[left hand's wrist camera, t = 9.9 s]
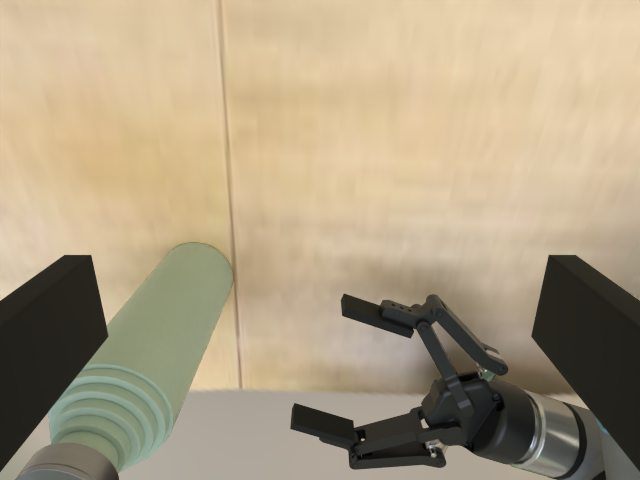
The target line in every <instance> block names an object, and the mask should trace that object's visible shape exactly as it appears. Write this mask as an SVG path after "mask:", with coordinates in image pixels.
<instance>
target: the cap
mask: <svg viewBox="0 0 640 480" xmlns="http://www.w3.org/2000/svg"><path fill="white" fill-rule="evenodd" d="M15 480H119V476H118V473H117V471H116V468H115V467H114V465H113V464H112V463H111V462H110V460H108V459H107V458H106V457H105V456H104V455H102V454H101V453H99V452H98V451H96V450H94V449H92V448H90V447H87V446H84V445H80V444H75V443H55V444H51V445H48V446H46V447H44V448H42V449H40V450H39V451H37V452H36V453H35V454H34V455H33V457H32V458H31V459H30V461H29V462H28V463H27V465H26V466H25V467H24V469H23V470H22V471H21V473H20V474H19V475H18V477H17V478H16V479H15Z"/></svg>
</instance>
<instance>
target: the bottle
mask: <svg viewBox="0 0 640 480" xmlns="http://www.w3.org/2000/svg"><path fill="white" fill-rule="evenodd" d="M232 284H233V272H232V268H231V266H230V264H229V262H228V260H227V259H226V258H225V256H224V255H223V254H222V253H221V252H219V251H218V250H217V249H215V248H213V247H211V246H209V245H206V244H202V243H185V244H182V245H179V246H177V247H175V248H174V249H172V250H171V251H170V252H169V253H168V254H167V255H166V257H165V258H164V259H163V260H162V261H161V262H160V264H159V265H158V266H157V267H156V268H155V269H154V271H153V272H152V273H151V274H150V275H149V277H148V278H147V279H146V280H145V281H144V282H143V284H142V285H141V286H140V287H139V288H138V289H137V291H136V292H135V293H134V294H133V295H132V296H131V298H130V299H129V300H128V301H127V302H126V303H125V305H124V306H123V307H122V308H121V309H120V311H119V312H118V313H117V314H116V315H115V316H114V318H113V319H112V320H111V321H110V322H109V323H108V325H107V331H108V336H109V337H108V338H107V339H106V341H105V342H104V343H103V344H102V346H101V347H100V348H99V349H98V351H97V352H96V353H95V354H94V355H93V357H92V358H91V359H90V360H89V362H88V363H87V364H86V365H85V367H84V368H83V369H82V370H81V372H80V373H79V374H78V375H77V377H76V378H75V379H74V380H73V382H72V383H71V384H70V385H69V387H68V388H67V389H66V390H65V392H64V393H63V394H62V395H61V397H60V398H59V399H58V400H57V402H56V403H55V404H54V405H53V407H52V408H51V409H50V410H49V412H48V416H49V427H50V439H51V444H55V443H75V444H80V445H84V446H87V447H90V448H92V449H94V450H96V451H98V452H99V453H101V454H102V455H104V456H105V457H106V458H107V459H108V460H110V462H111V463H112V464H113V465H114V467H115V468H116V471H117V473H119V472H121V471H123V470H125V469H127V468H129V467H130V466H133V465H135V464H137V463H138V462H140V461H142V460H144V459H146V458H148V457H149V456H151V455H152V454H153V453H155V452H156V451H157V450H158V448H159V447H160V446H161V445H162V444H163V443H164V442H165V441H166V440H167V438H168V437H169V435H170V433H171V431H172V429H173V426H174V424H175V421H176V419H177V417H178V414H179V412H180V410H181V407H182V405H183V402H184V400H185V398H186V395H187V393H188V390H189V388H190V386H191V383H192V381H193V379H194V376H195V374H196V371H197V369H198V367H199V364H200V362H201V359H202V357H203V355H204V352H205V350H206V348H207V345H208V343H209V340H210V338H211V336H212V333H213V331H214V328H215V326H216V324H217V321H218V319H219V317H220V314H221V312H222V309H223V307H224V305H225V302H226V300H227V297H228V295H229V293H230V290H231V288H232Z"/></svg>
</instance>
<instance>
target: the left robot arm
mask: <svg viewBox="0 0 640 480" xmlns="http://www.w3.org/2000/svg"><path fill="white" fill-rule="evenodd" d="M108 337H109V336H108V331H107V326H106V322H105V317H104V313H103V308H102V303H101V299H100V294H99V289H98V285H97V280H96V275H95V271H94V266H93V261H92V257H91V255H64V256H63V257H61V258H60V259H58V260H57V261H56V262H54V263H53V264H51V265H50V266H49V267H47V268H46V269H44V270H43V271H42V272H40V273H39V274H37V275H36V276H35V277H33V278H32V279H30V280H29V281H28V282H26V283H25V284H23V285H22V286H21V287H19V288H18V289H16V290H15V291H14V292H12V293H11V294H9V295H8V296H7V297H5V298H4V299H2V300H1V301H0V472H1V470H2V469H3V468H4V467H5V465H6V464H7V463H8V462H9V460H10V459H11V458H12V457H13V455H14V454H15V453H16V452H17V450H18V449H19V448H20V447H21V445H22V444H23V443H24V442H25V440H26V439H27V438H28V437H29V435H30V434H31V433H32V432H33V430H34V429H35V428H36V427H37V425H38V424H39V423H40V422H41V420H42V419H43V418H44V417H45V415H46V414H47V413H48V412H49V410H50V409H51V408H52V407H53V405H54V404H55V403H56V402H57V400H58V399H59V398H60V397H61V395H62V394H63V393H64V392H65V390H66V389H67V388H68V387H69V385H70V384H71V383H72V382H73V380H74V379H75V378H76V377H77V375H78V374H79V373H80V372H81V370H82V369H83V368H84V367H85V365H86V364H87V363H88V362H89V360H90V359H91V358H92V357H93V355H94V354H95V353H96V352H97V351H98V349H99V348H100V347H101V346H102V344H103V343H104V342H105V341H106V339H107V338H108ZM531 337H532V338H533V339H534V340H535V342H536V343H537V344H538V345H539V347H540V348H541V349H542V350H543V352H544V353H545V354H546V355H547V357H548V358H549V359H550V360H551V362H552V363H553V364H554V365H555V367H556V368H557V369H558V370H559V372H560V373H561V374H562V375H563V377H564V378H565V379H566V380H567V382H568V383H569V384H570V385H571V387H572V388H573V389H574V390H575V392H576V393H577V394H578V395H579V397H580V398H581V399H582V400H583V402H584V403H585V404H586V405H587V407H588V408H589V409H590V410H591V412H592V413H593V414H594V415H595V417H596V418H597V419H598V420H599V422H600V423H601V424H602V425H603V427H604V428H605V429H606V430H607V432H608V433H609V434H610V435H611V437H612V438H613V439H614V440H615V442H616V443H617V444H618V445H619V447H620V448H621V449H622V450H623V452H624V453H625V454H626V455H627V457H628V458H629V459H630V460H631V462H632V463H633V464H634V465H635V467H636V468H637V469H638V470H639V472H640V301H639V300H638V299H636V298H635V297H633V296H632V295H631V294H629V293H628V292H626V291H625V290H624V289H622V288H621V287H619V286H618V285H617V284H615V283H614V282H612V281H611V280H610V279H608V278H607V277H605V276H604V275H603V274H601V273H600V272H598V271H597V270H596V269H594V268H593V267H591V266H590V265H589V264H587V263H586V262H584V261H583V260H582V259H580V258H579V257H577V256H576V255H549V257H548V262H547V266H546V271H545V275H544V280H543V285H542V289H541V294H540V299H539V303H538V308H537V313H536V317H535V322H534V327H533V331H532V336H531Z"/></svg>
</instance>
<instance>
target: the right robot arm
mask: <svg viewBox="0 0 640 480" xmlns="http://www.w3.org/2000/svg"><path fill="white" fill-rule="evenodd" d="M341 307H342V316H344V317H347V318H350V319H353V320H356V321H359V322H362V323H366V324H369V325H372V326H375V327H378V328H381V329H384V330H387V331H390V332H393V333H396V334H399V335H402V336H405V337H408V338H411V337H412V335H413V333H414V330H413V328H414V329H417V331H418V333H419V335H420V337H421V339H422V340H423V342H424V344H425V346H426V348H427V349H428V351H429V353H430V355H431V357H432V358H433V360H434V362H435V364H436V366H437V367H438V369H439V371H440V373H441V375H442V377H443V378H441V379H440V380H438V381H436V380H435V381H434V382H433V384H432V386H431V390H430V393H429V394H428V395H427V396H426V397H425V398H424V399H423V401H422V403H421V404H422V406H420V407H417V408H413V409H411V411H410V413H408V414H404V415H401V416H397V417H393V418H389V419H386V420H382V421H378V422H375V423H371V424H367V425H363V426H360V427H356V428H354V425H353V420H349V419H346V418H342V417H339V416H336V415H332V414H329V413H326V412H322V411H319V410H316V409H312V408H309V407H306V406H302V405H299V404H296V403H295V404H294V406H293V408H292V417H291V429H293V430H296V431H300V432H303V433H307V434H310V435H313V436H317V437H319V440H321V441H322V442H324V443H327V444H330V445H334V446H337V447H341V448H344V449H347V450H348V452H349V466H350V468H352V469H369V468H383V467H397V466H411V465H427V466H432V467H438V468H442V467H444V466H445V465H446V460H445V457H444V454H445V452H446V450H447V448H448V446H453V445H460V446H463V447H465V448H466V449H468V450H469V451H471V452H472V453H474V454H475V455H477V456H480V457H483V458H486V459H490V460H493V461H497V462H500V463H503V464H510V465H511V466H512V467H516V468H519V469H523V470H526V471H530V472H533V473H536V474H540V475H544V476H547V477H550V478H553V479H557V480H640V472H639V470H638V469H637V468H636V467H635V465H634V464H633V463H632V462H631V460H630V459H629V458H628V457H627V455H626V454H625V453H624V452H623V450H622V449H621V448H620V447H619V445H618V444H617V443H616V442H615V440H614V439H613V438H612V437H611V435H610V434H609V433H608V432H607V430H606V429H605V428H604V427H603V425H602V424H601V423H600V422H599V420H598V419H597V418H596V417H595V415H594V414H593V413H592V412H591V410H588V409H585V408H581V407H578V406H575V405H572V404H568V403H565V402H561V401H558V400H555V399H552V398H549V397H546V396H543V395H540V394H537V393H534V392H531V391H527V390H524V389H521V388H519V387H517V386H514V385H511V384H508V383H505V382H502V381H498V380H495V379H493V378H494V376H495V375H496V374H497V375H504V374H506V373H507V372H508V367H507V365H506V364H505V362H504V361H503V359H502V358H501V356H500V354H499V353H498V351H497V350H496V349H494V348H491V347H489V346H487V345H485V344H483V343H481V342H480V341H479V340H478V339H477V338H476V337H475V336H474V334H473V333H472V332H471V331H470V330H469V329H468V328H467V327H466V326H465V325H464V324H463V323H462V322H461V321H460V319H459V318H458V317H457V316H456V315H455V314H454V313H453V312H452V311H451V310H450V309H449V308H448V307H447V305H446V304H445V303H444V302H443V301H442V300H441V299H440V298H439V297H438V296H437V295H434V294H433V295H429V296H428V297H427V299H426V303H425V304H423V305H422V306H421V305H419V304H414V305H412V306H411V307H408V306H405V305H402V304H398V303H396V302H393V301H390V300H383V301H382V303H381V305H380V306H379V305H376V304H373V303H370V302H367V301H364V300H361V299H358V298H355V297H353V296H350V295H347V294H344V295H343V297H342V299H341ZM435 321H437V322H438V323H439V324H440V325H441V326H442V327H443V328H444V329H445V330H446V331H447V332H448V333H449V334H450V335H451V336H452V337H453V339H454V340H455V341H456V342H457V343H458V344H459V345H460V346H461V347H462V348H463V349H464V350H465V351H466V352H467V353H468V354H469V355H470V356H471V357H472V358H473V359H474V360H475V364H476V366H477V368H478V369H479V371H472V372H467V373H462V374H457V372H456V370H455V368H454V366H453V364H452V362H451V361H450V359H449V357H448V356H447V354H446V352H445V350H444V348H443V346H442V344H441V342H440V341H439V339H438V337H437V335H436V333H435V331H434V329H433V327H432V326H431V325H432V324H433V323H434V322H435ZM422 419H425V421H426V423H427V425H428V426H429V428H423V427H422V424H421V420H422ZM362 438H364V439H365V440H364V441H361V439H362ZM361 455H362V457H361Z"/></svg>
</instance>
